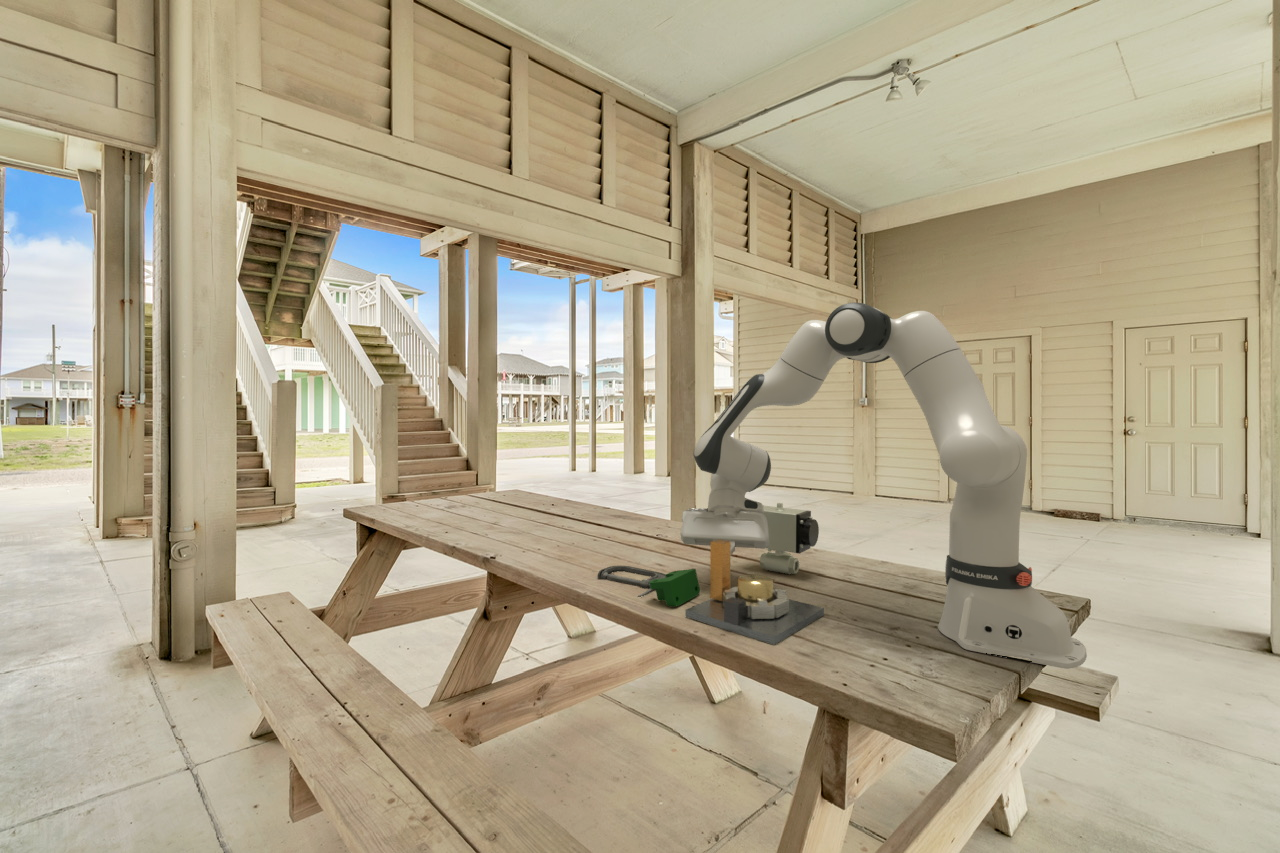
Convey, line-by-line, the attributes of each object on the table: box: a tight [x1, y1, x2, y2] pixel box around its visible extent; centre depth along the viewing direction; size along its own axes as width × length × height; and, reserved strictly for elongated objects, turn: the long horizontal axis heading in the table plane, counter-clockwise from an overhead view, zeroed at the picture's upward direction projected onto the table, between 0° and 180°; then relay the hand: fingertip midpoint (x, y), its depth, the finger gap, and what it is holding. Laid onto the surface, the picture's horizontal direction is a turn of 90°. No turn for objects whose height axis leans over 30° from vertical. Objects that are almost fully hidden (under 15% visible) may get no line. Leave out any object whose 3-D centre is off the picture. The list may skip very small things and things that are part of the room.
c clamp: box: [597, 565, 667, 598], centre depth 140 cm, size 20×17×3 cm
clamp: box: [649, 568, 701, 607], centre depth 127 cm, size 12×6×9 cm, turn 140°
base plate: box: [684, 573, 825, 646], centre depth 116 cm, size 20×20×8 cm
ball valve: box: [759, 502, 820, 575], centre depth 148 cm, size 18×8×18 cm, turn 52°
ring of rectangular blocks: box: [709, 540, 790, 619], centre depth 117 cm, size 16×12×12 cm
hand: (722, 561), depth 129 cm, fingers closed
